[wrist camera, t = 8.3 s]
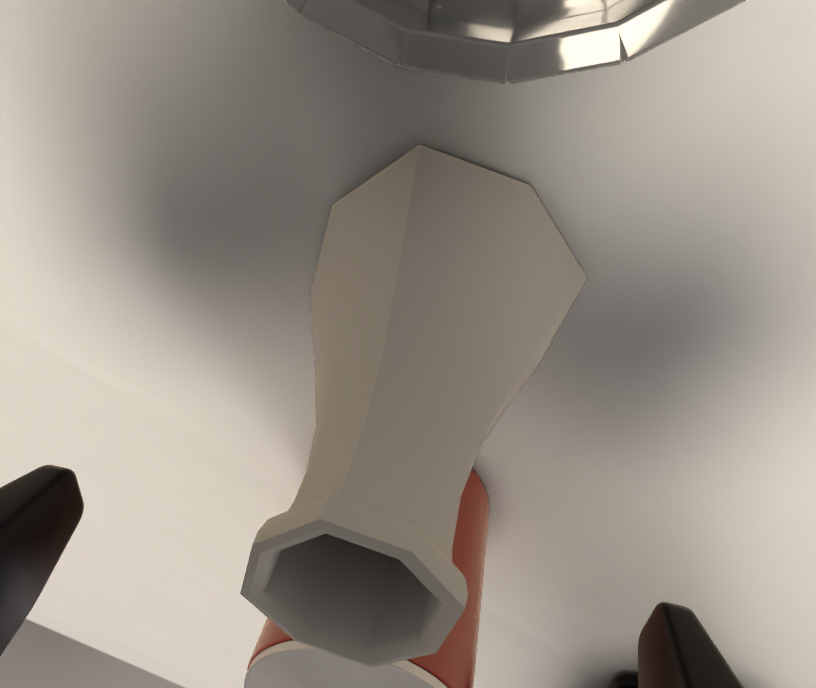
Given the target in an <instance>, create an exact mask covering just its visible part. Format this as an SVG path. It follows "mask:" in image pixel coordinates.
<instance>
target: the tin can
mask: <svg viewBox="0 0 816 688" xmlns="http://www.w3.org/2000/svg"><path fill="white" fill-rule="evenodd" d="M488 520H489V499H488V494H487V492H486V489H485V487H484V485H483V483H482V481H481V480H480V478H479V477H478V475H477V474H476V473H475V472H474V470H473V469H472V470H471V472H470V475H469V477H468V480H467V482H466V485H465V487H464V490H463V492H462V495H461V499H460V505H459V511H458V517H457V523H456V529H455V535H454V540H453V546H452V563H453V564H454V565H455V566H456V567H457V568H458V569H459V570H460V572H461V573H462V574H463V576H464V577H465V579H466V585H467V591H468V597H467V603H466V608H465V610H464V612H463V613H462V615H461V616H460V618H459V619H458V621H457V622H456V624H455V625H454V627H453V628H452V630H451V631H450V633H449V634H448V636H447V637H446V639H445V640H444V642H443V643H442V645H441V646H440V648H439V649H438V651H437V652H436V653H434V654H430V655H425V656H421V657H416V658H412V659H407V660H403V661H398V662H394V663H389V664H385V665H380V666H376V667H371V668H370V667H367V666H364V665H361V664H359V663H356V662H353V661H350V660H347V659H344V658H342V657H339V656H336V655H333V654H330V653H327V652H325V651H322V650H319V649H316V648H313V647H310V646H308V645H305V644H302V643H299V642H296V641H294V640H293V639H292V638H291V637H290V636H289V635H287V634H286V633H285V632H284V631H283V630H282V629H280V628H279V627H278V626H277V625H276V624H275V623H274V622H272V621H271V620H270V619H269V618H268V617H267V620H266V622H265V625H264V627H263V630H262V632H261V635H260V637H259V639H258V642H257V644H256V647H255V649H254V652H253V654H252V657H251V659H250V662H249V665H248V670H247V674H246V678H245V684H244V688H473V683H474V672H475V661H476V650H477V640H478V629H479V618H480V607H481V596H482V585H483V575H484V564H485V553H486V542H487V531H488Z"/></svg>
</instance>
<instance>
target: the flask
mask: <svg viewBox="0 0 816 688" xmlns="http://www.w3.org/2000/svg"><path fill="white" fill-rule="evenodd" d="M586 278H587V276H586V275H585V273H584V271H583V270H582V268H581V267H580V265H579V263H578V262H577V260H576V258H575V257H574V255H573V253H572V252H571V250H570V248H569V247H568V245H567V244H566V242H565V240H564V239H563V237H562V235H561V234H560V232H559V230H558V229H557V227H556V226H555V224H554V222H553V221H552V219H551V217H550V216H549V214H548V212H547V211H546V209H545V208H544V206H543V204H542V203H541V201H540V199H539V198H538V196H537V194H536V193H535V191H534V190H533V188H532V186H531V185H528V184H525V183H523V182H520V181H517V180H515V179H512V178H509V177H507V176H504V175H501V174H498V173H496V172H493V171H490V170H488V169H485V168H482V167H480V166H477V165H474V164H471V163H469V162H466V161H463V160H461V159H458V158H455V157H453V156H450V155H447V154H445V153H442V152H439V151H436V150H434V149H431V148H428V147H426V146H423V145H418V146H417V147H415V148H414V149H412V150H411V151H409V152H408V153H406V154H405V155H404V156H402V157H401V158H399V159H398V160H396V161H395V162H393V163H392V164H391V165H389V166H388V167H386V168H385V169H383V170H382V171H380V172H379V173H377V174H376V175H375V176H373V177H372V178H370V179H369V180H367V181H366V182H364V183H363V184H362V185H360V186H359V187H357V188H356V189H354V190H353V191H351V192H350V193H348V194H347V195H346V196H344V197H343V198H341V199H340V200H338V201H337V202H335V203H334V204H333V205H332V206H331V210H330V214H329V218H328V222H327V226H326V230H325V235H324V239H323V243H322V247H321V251H320V255H319V259H318V263H317V267H316V271H315V276H314V280H313V284H312V288H311V292H310V312H311V322H312V333H313V344H314V354H315V394H316V430H315V435H314V439H313V444H312V449H311V454H310V459H309V464H308V469H307V472H306V475H305V477H304V479H303V482H302V484H301V486H300V489H299V491H298V493H297V496H296V498H295V501H294V502H293V504H292V506H291V507H290V509H289V510H288V511H287V512H284V513H282V514H280V515H277V516H275V517H272V518H270V519H268V520H267V521H266V523H265V524H264V525H263V526H262V527H261V528H260V530H259V531H258V533H257V535H256V538H255V540H254V543H253V545H252V549H251V553H250V557H249V561H248V565H247V569H246V573H245V577H244V581H243V585H242V589H241V593H240V594H241V595H243V596H244V597H245V598H246V599H247V600H248V601H249V602H251V603H252V604H253V605H254V606H255V607H256V608H258V609H259V610H260V611H261V612H262V613H263V614H264V615H266V616H267V617H268V618H269V619H270V620H271V621H272V622H274V623H275V624H276V625H277V626H278V627H279V628H280V629H282V630H283V631H284V632H285V633H286V634H287V635H289V636H290V637H291V638H292V639H293V640H294V641H296V642H299V643H302V644H305V645H308V646H310V647H313V648H316V649H319V650H322V651H325V652H327V653H330V654H333V655H336V656H339V657H342V658H344V659H347V660H350V661H353V662H356V663H359V664H361V665H364V666H367V667H370V668H371V667H376V666H380V665H385V664H389V663H394V662H398V661H403V660H407V659H412V658H416V657H421V656H425V655H430V654H434V653H436V652H437V651H438V649H439V648H440V646H441V645H442V643H443V642H444V640H445V639H446V637H447V636H448V634H449V633H450V631H451V630H452V628H453V627H454V625H455V624H456V622H457V621H458V619H459V618H460V616H461V615H462V613H463V612H464V610H465V608H466V603H467V597H468V591H467V585H466V579H465V577H464V576H463V574H462V573H461V572H460V570H459V569H458V568H457V567H456V566H455V565H454V564H453V563H452V546H453V540H454V535H455V529H456V523H457V517H458V511H459V505H460V499H461V495H462V492H463V490H464V487H465V485H466V482H467V480H468V477H469V475H470V472H471V470H472V467H473V464H474V462H475V459H476V457H477V454H478V452H479V449H480V447H481V445H482V444H483V442H484V441H485V439H486V438H487V436H488V435H489V433H490V432H491V430H492V429H493V427H494V426H495V424H496V422H497V421H498V419H499V418H500V416H501V415H502V413H503V412H504V410H505V409H506V408H507V406H508V405H509V404H510V403H511V401H512V400H513V399H514V397H515V396H516V395H517V393H518V392H519V391H520V389H521V388H522V387H523V385H524V384H525V383H526V382H527V380H528V379H529V378H530V376H531V375H532V374H533V372H534V371H535V369H536V368H537V366H538V365H539V363H540V362H541V360H542V358H543V356H544V354H545V353H546V351H547V349H548V347H549V345H550V344H551V342H552V340H553V338H554V336H555V335H556V333H557V331H558V329H559V327H560V325H561V324H562V322H563V320H564V318H565V316H566V315H567V313H568V311H569V309H570V307H571V306H572V304H573V302H574V300H575V298H576V296H577V295H578V293H579V291H580V289H581V287H582V286H583V284H584V282H585V280H586Z"/></svg>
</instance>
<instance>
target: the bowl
mask: <svg viewBox="0 0 816 688" xmlns="http://www.w3.org/2000/svg"><path fill="white" fill-rule="evenodd" d="M285 1H286V2H287V3H288V4H289V5H290V6H291V7H292V8H293V9H294V10H295V11H296V12H297V13H299V14H301V13H302V16H303V17H304V18H306V19H307V20H309V21H311V22H313V23H315V24H317V25H319V26H321V27H323V28H324V29H326V30H328V31H330V32H332V33H334V34H336V35H338V36H340V37H342V38H343V39H345V40H347V41H349V42H351V43H353V44H355V45H357V46H359V47H360V48H362V49H364V50H366V51H368V52H370V53H372V54H374V55H376V56H377V57H379V58H381V59H383V60H385V61H387V62H389V63H391V64H393V65H395V66H400V65H401V67H402V68H404V69H408V70H415V71H421V72H428V73H435V74H441V75H448V76H454V77H461V78H467V79H474V80H480V81H487V82H493V83H500V84H505V83H507V82H509V83H511V84H515V83H520V82H526V81H531V80H537V79H542V78H548V77H553V76H559V75H564V74H570V73H575V72H581V71H586V70H592V69H597V68H603V67H608V66H614V65H619V64H621V63H623V61H624V60H625V61H630V60H632V59H634V58H636V57H638V56H640V55H642V54H644V53H646V52H648V51H650V50H652V49H654V48H656V47H658V46H660V45H661V44H663V43H665V42H667V41H669V40H671V39H673V38H675V37H677V36H679V35H681V34H683V33H685V32H687V31H689V30H691V29H693V28H694V27H696V26H698V25H700V24H702V23H704V22H706V21H708V20H710V19H712V18H714V17H716V16H718V15H720V14H722V13H724V12H726V11H727V10H729V9H731V8H733V7H735V6H737V5H739V4H741V3H743V2H745V1H746V0H285Z"/></svg>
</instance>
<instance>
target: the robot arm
mask: <svg viewBox="0 0 816 688" xmlns="http://www.w3.org/2000/svg"><path fill="white" fill-rule="evenodd" d="M83 509H84V503H83V499H82V496H81V492H80V489H79V485H78V482H77V478H76V475H75V473H74V472H73V471H72V470H70V469H67V468H63V467H58V466H54V465H45V466H42V467H39V468H37V469H35V470H33V471H31V472H30V473H28V474H26V475H24V476H22V477H20V478H18V479H16V480H14V481H12V482H10V483H8V484H7V485H5V486H3V487H1V488H0V656H1V654H2V653H3V651H4V650H5V648H6V647H7V645H8V644H9V642H10V641H11V639H12V638H13V636H14V635H15V634H16V632H17V630H18V629H19V628H20V626H21V624H22V623H23V621H24V620H25V618H26V617H27V615H28V614H29V612H30V611H31V609H32V607H33V606H34V604H35V602H36V600H37V599H38V597H39V595H40V593H41V592H42V590H43V588H44V586H45V584H46V582H47V580H48V579H49V577H50V575H51V573H52V571H53V569H54V567H55V566H56V564H57V562H58V560H59V558H60V556H61V554H62V553H63V551H64V549H65V547H66V545H67V543H68V542H69V540H70V538H71V536H72V534H73V532H74V530H75V529H76V527H77V525H78V523H79V521H80V519H81V517H82V514H83ZM610 688H743V686H742V685H741V683H740V682H739V680H738V679H737V677H736V676H735V674H734V673H733V671H732V670H731V668H730V667H729V665H728V664H727V662H726V661H725V659H724V658H723V656H722V655H721V653H720V652H719V650H718V649H717V647H716V646H715V644H714V643H713V641H712V640H711V638H710V637H709V635H708V634H707V632H706V631H705V629H704V628H703V626H702V625H701V623H700V622H699V620H698V619H697V617H696V616H695V614H694V613H693V612H692V611H691V610H690V609H689V608H687V607H684V606H680V605H675V604H671V603H666V602H661V603H659V604H658V605H657V606H656V607H655V609H654V611H653V612H652V614H651V616H650V617H649V619H648V621H647V622H646V624H645V626H644V628H643V629H642V631H641V633H640V637H639V642H638V677H635V676H630V675H621V676H618V677H617V678H616V679H615V680H614V682H613V683H612V685H611V687H610Z"/></svg>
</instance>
